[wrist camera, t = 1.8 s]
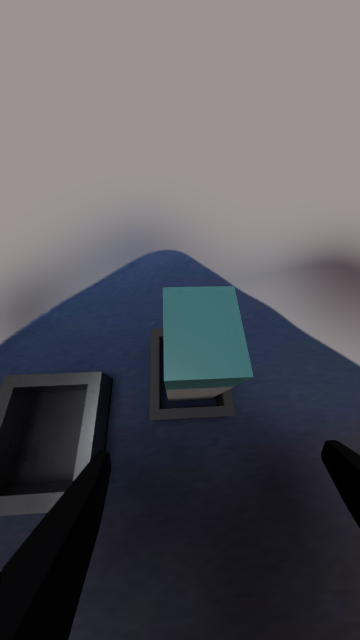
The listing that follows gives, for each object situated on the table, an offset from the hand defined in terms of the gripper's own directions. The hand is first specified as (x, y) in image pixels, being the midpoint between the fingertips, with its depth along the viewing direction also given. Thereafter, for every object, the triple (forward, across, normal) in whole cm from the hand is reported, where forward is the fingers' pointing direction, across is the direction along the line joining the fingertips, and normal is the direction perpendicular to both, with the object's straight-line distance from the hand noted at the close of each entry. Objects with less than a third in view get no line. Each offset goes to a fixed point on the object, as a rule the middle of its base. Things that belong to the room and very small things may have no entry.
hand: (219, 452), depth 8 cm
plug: (+12, 0, +4) cm, 12 cm away
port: (+8, +12, +8) cm, 16 cm away
